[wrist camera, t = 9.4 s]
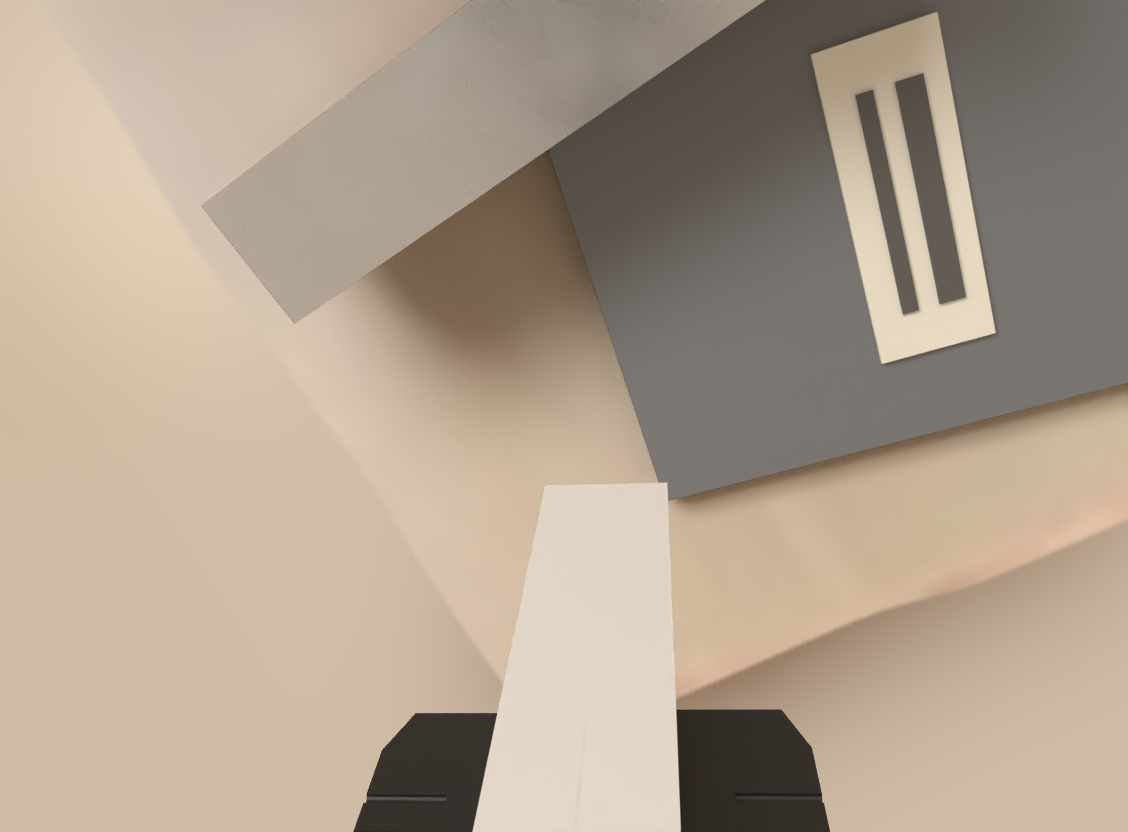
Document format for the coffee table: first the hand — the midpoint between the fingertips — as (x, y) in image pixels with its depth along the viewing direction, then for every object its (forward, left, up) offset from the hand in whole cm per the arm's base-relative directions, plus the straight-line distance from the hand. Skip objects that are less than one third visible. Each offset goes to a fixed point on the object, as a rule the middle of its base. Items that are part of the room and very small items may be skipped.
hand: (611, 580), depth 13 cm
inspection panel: (0, +8, -22) cm, 23 cm away
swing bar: (-6, 0, -20) cm, 21 cm away
